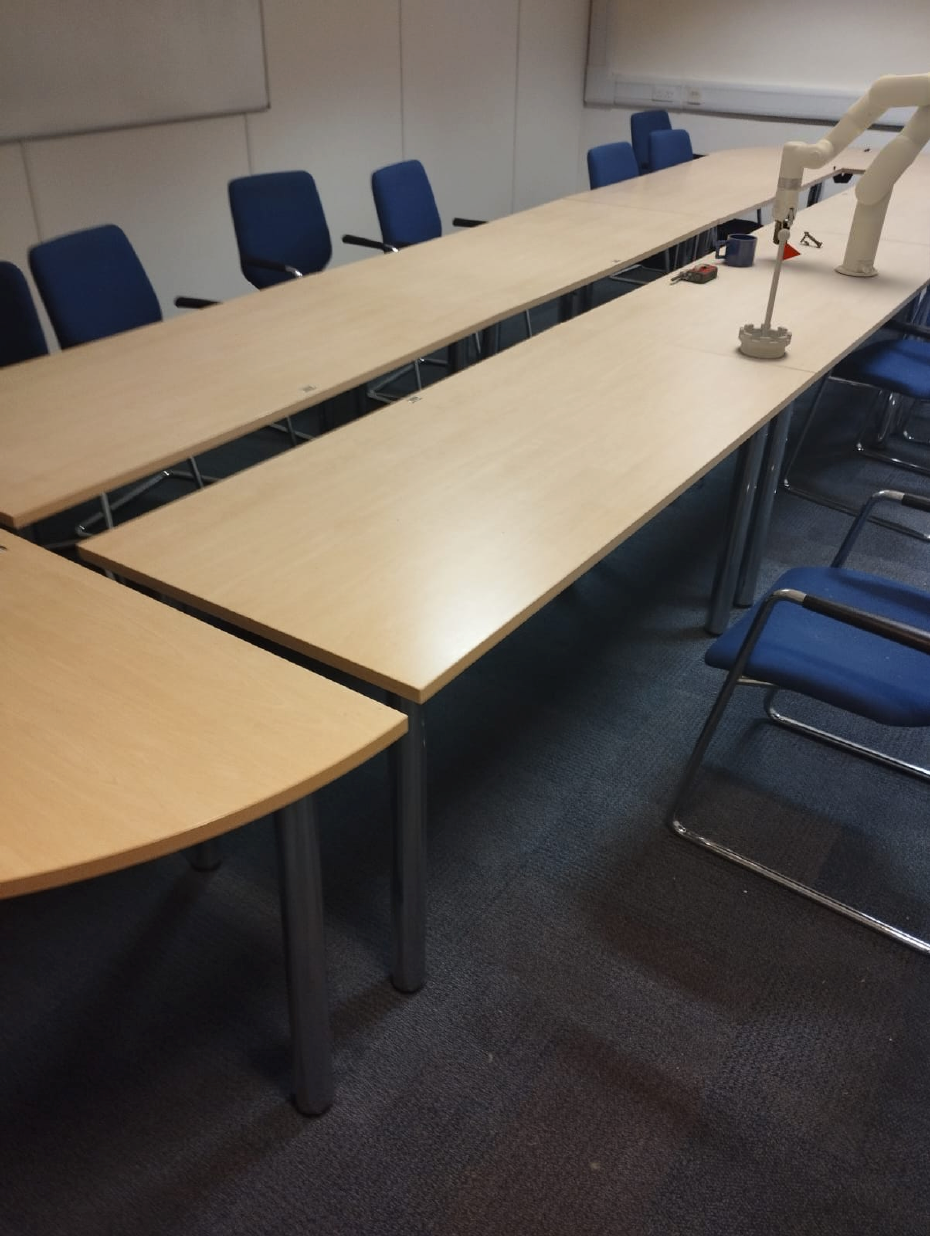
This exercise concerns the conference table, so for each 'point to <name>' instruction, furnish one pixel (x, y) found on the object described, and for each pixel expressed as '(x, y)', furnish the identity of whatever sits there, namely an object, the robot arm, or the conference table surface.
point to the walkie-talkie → (698, 273)
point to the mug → (738, 250)
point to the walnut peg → (777, 229)
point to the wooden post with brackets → (810, 239)
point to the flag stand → (769, 315)
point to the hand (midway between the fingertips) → (780, 241)
